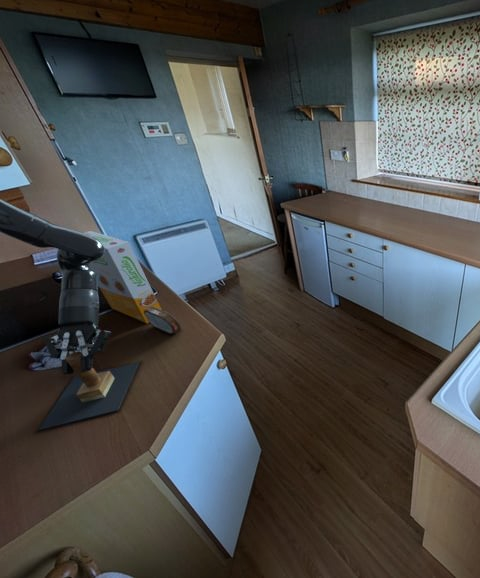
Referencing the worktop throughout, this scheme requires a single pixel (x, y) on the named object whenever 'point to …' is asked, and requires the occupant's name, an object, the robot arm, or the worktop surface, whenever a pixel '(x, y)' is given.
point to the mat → (76, 410)
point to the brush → (90, 379)
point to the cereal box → (122, 278)
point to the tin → (162, 320)
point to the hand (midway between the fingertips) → (77, 372)
